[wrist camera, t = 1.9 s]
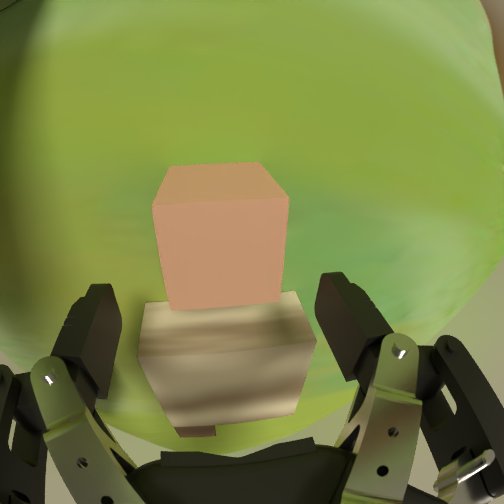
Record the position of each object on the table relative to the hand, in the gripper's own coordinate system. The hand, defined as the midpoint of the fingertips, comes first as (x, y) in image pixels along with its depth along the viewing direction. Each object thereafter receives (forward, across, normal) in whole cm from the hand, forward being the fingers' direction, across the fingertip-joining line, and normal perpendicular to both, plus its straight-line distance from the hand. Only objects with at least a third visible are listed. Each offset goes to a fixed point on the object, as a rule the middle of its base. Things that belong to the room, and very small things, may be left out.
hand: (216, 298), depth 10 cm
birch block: (+8, -1, +12) cm, 14 cm away
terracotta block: (+7, 0, -1) cm, 7 cm away
